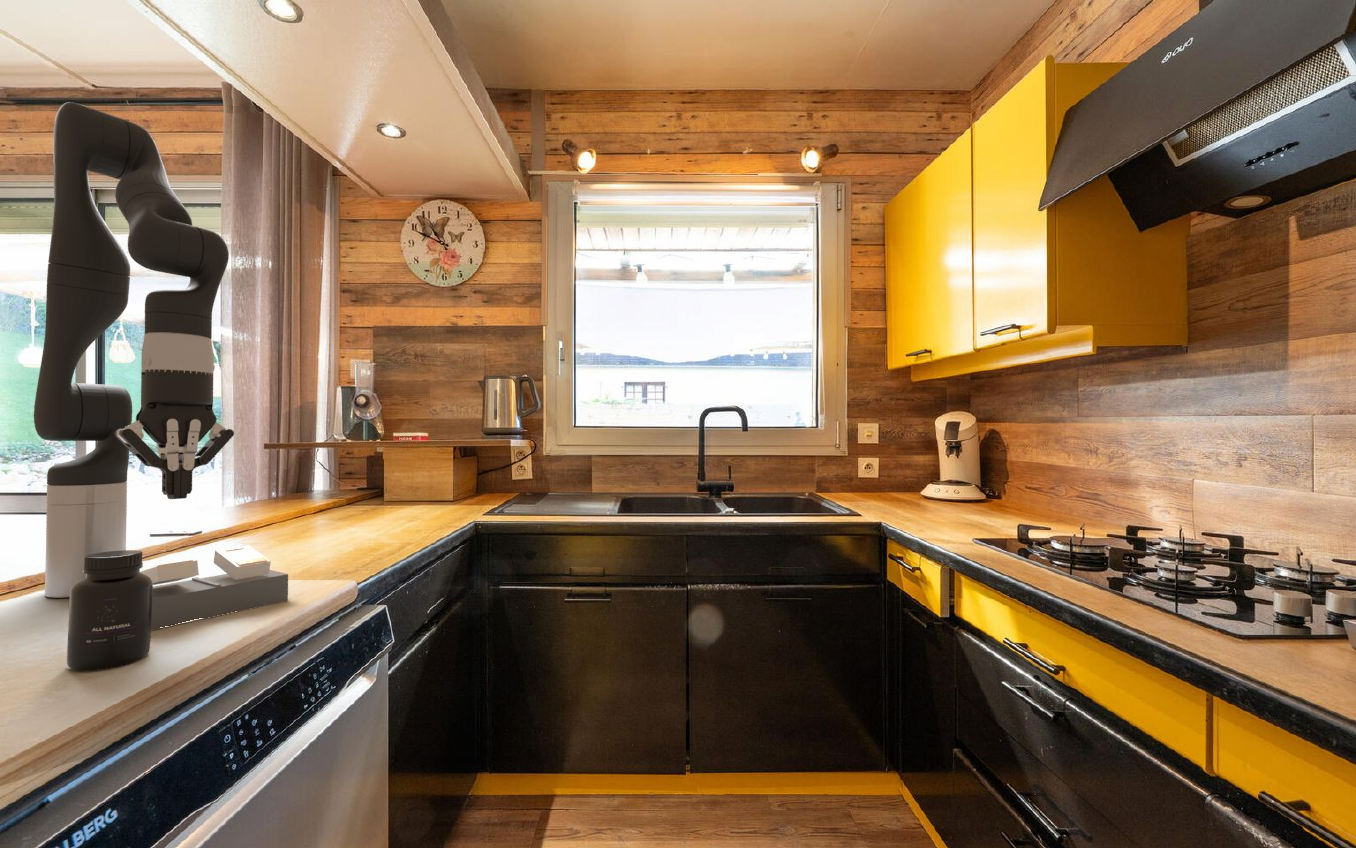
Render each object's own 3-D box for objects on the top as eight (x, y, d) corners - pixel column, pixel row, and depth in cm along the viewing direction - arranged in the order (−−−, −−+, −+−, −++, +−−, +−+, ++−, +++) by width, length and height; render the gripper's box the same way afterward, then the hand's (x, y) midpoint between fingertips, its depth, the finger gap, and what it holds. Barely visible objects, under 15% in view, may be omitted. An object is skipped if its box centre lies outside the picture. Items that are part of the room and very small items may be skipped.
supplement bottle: (99, 675, 63) (101, 561, 64) (49, 670, 65) (51, 558, 65) (166, 652, 70) (168, 549, 70) (120, 648, 72) (122, 546, 72)
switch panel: (112, 623, 81) (112, 591, 81) (261, 593, 96) (261, 566, 96) (136, 634, 76) (136, 600, 76) (287, 600, 92) (288, 572, 92)
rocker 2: (213, 562, 90) (215, 549, 90) (246, 557, 94) (248, 544, 94) (235, 580, 87) (237, 565, 86) (268, 574, 90) (270, 560, 90)
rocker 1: (137, 587, 82) (136, 571, 82) (177, 581, 86) (175, 565, 86) (158, 581, 79) (157, 565, 79) (198, 575, 82) (197, 559, 83)
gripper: (222, 375, 89) (220, 493, 89) (103, 367, 78) (101, 501, 78) (247, 372, 85) (245, 495, 85) (125, 363, 74) (123, 505, 74)
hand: (176, 498), depth 81 cm, fingers closed
